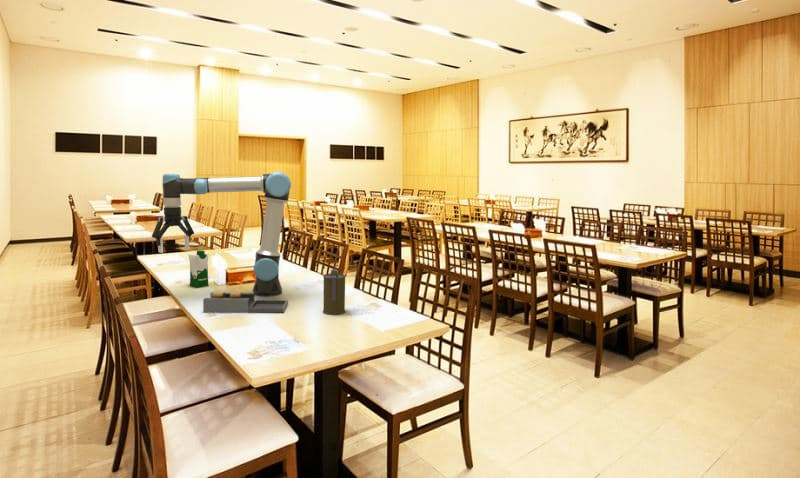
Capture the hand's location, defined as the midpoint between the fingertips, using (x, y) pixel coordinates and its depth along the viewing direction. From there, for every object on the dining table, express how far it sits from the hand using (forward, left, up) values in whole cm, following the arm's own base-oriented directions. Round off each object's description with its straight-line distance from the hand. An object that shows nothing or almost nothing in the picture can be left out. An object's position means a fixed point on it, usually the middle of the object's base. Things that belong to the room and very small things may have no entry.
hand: (174, 250), depth 241 cm
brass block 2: (-31, +11, -22) cm, 40 cm away
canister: (-77, +16, -26) cm, 83 cm away
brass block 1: (-23, +11, -22) cm, 34 cm away
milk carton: (0, -34, -26) cm, 43 cm away
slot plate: (-28, +11, -25) cm, 39 cm away
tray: (-46, +11, -25) cm, 54 cm away
